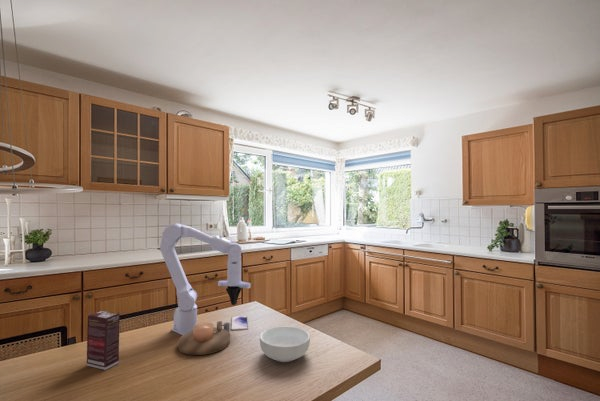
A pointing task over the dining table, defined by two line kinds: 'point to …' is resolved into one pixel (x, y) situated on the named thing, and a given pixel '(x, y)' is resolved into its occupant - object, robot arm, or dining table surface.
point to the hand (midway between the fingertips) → (234, 304)
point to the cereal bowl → (284, 343)
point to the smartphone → (239, 323)
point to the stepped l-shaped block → (226, 326)
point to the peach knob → (203, 332)
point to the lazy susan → (204, 342)
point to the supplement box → (103, 339)
